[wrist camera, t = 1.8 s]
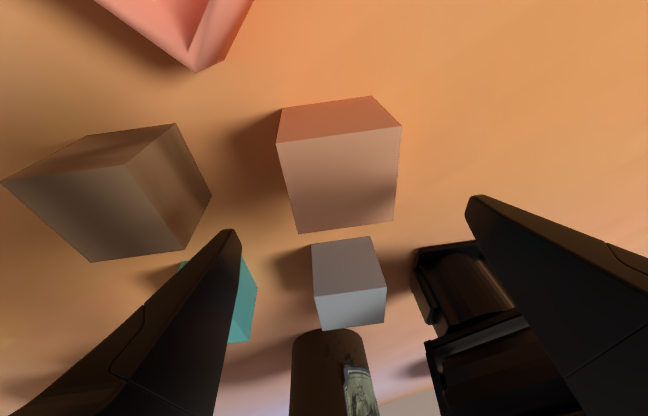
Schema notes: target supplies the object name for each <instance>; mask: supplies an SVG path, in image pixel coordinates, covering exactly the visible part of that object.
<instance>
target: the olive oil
mask: <svg viewBox="0 0 648 416" xmlns="http://www.w3.org/2000/svg"><path fill="white" fill-rule="evenodd" d="M289 416H380V414H379V410H378V405H377V401H376V397H375V393H374V389H373V384H372V380H371V376H370V372H369V367H368V363H367V359H366V354H365V350H364V345H363V341H362V338H361V337H360V336H359V335H358V334H357V333H355V332H353V331H351V330H347V329H334V330H326V331H322V329H320V330H316V331H312V332H309V333H307V334H305V335H303V336H301V337H299V338H298V339H297V340H296V341H295V342H294V344H293V349H292V368H291V389H290V406H289Z"/></svg>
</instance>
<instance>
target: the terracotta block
mask: <svg viewBox="0 0 648 416" xmlns="http://www.w3.org/2000/svg"><path fill="white" fill-rule="evenodd" d="M401 133H402V125H401V124H400V123H399V122H398V121H397V120H396V119H395V118H394V117H393V116H392V115H391V114H390V113H389V112H388V111H387V110H386V109H385V108H384V107H383V106H382V105H381V104H380V103H379V102H378V101H377V100H376V99H375V98H374V97H373V96H366V97H359V98H352V99H345V100H338V101H330V102H323V103H316V104H309V105H302V106H295V107H288V108H283V109H282V114H281V119H280V124H279V129H278V134H277V139H276V147H277V151H278V155H279V159H280V163H281V167H282V171H283V175H284V179H285V183H286V187H287V191H288V195H289V199H290V203H291V207H292V211H293V215H294V219H295V223H296V227H297V231H298V234H304V233H311V232H318V231H325V230H333V229H340V228H347V227H354V226H361V225H369V224H376V223H383V222H390V221H393V218H394V207H395V197H396V186H397V175H398V165H399V154H400V143H401Z"/></svg>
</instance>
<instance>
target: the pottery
mask: <svg viewBox="0 0 648 416" xmlns="http://www.w3.org/2000/svg"><path fill="white" fill-rule="evenodd" d="M94 1H95V2H97V3H98V4H99V5H101V6H102V7H104V8H105V9H106V10H108V11H109V12H111V13H112V14H113V15H115V16H116V17H118V18H119V19H120V20H122V21H123V22H125V23H126V24H127V25H129V26H130V27H132V28H133V29H134V30H136V31H137V32H139V33H140V34H141V35H143V36H144V37H146V38H147V39H148V40H150V41H151V42H153V43H154V44H155V45H157V46H158V47H160V48H161V49H162V50H164V51H165V52H167V53H168V54H169V55H171V56H172V57H174V58H175V59H176V60H178V61H179V62H181V63H182V64H183V65H185V66H186V67H188V68H189V69H190V70H192V71H193V72H195V73H197V72H199V71H201V70H204V69H206V68H208V67H210V66H212V65H214V64H216V63H218V62H221V61H223V60H224V59H225V57H226V55H227V53H228V51H229V49H230V47H231V45H232V43H233V41H234V39H235V37H236V35H237V33H238V31H239V29H240V27H241V25H242V23H243V21H244V19H245V17H246V15H247V13H248V11H249V9H250V7H251V5H252V3H253V1H254V0H94Z"/></svg>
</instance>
